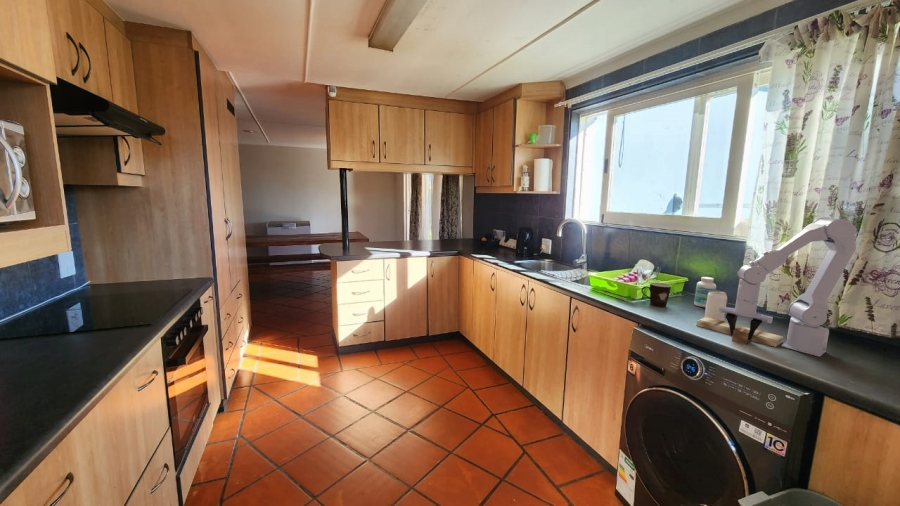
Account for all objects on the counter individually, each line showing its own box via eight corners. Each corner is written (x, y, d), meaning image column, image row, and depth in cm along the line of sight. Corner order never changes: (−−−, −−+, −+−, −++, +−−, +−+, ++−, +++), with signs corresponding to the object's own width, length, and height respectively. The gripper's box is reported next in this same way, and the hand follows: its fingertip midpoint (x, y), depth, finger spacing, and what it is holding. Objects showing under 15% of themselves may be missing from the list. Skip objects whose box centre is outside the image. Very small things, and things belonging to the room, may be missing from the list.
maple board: (782, 342, 127) (783, 336, 127) (775, 347, 123) (776, 340, 122) (705, 321, 146) (705, 316, 146) (696, 325, 142) (697, 320, 142)
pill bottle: (690, 304, 171) (693, 276, 169) (701, 303, 173) (705, 275, 171) (705, 309, 164) (709, 280, 162) (717, 307, 166) (721, 279, 164)
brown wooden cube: (749, 341, 127) (751, 329, 127) (746, 344, 124) (747, 333, 123) (735, 337, 130) (737, 326, 130) (731, 340, 127) (733, 329, 126)
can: (726, 323, 145) (731, 294, 143) (708, 321, 146) (713, 293, 145) (718, 318, 151) (722, 290, 150) (701, 316, 153) (705, 289, 151)
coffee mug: (669, 304, 169) (671, 284, 167) (668, 309, 162) (671, 287, 160) (641, 300, 175) (643, 280, 174) (639, 304, 168) (641, 284, 166)
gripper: (776, 302, 122) (770, 340, 124) (725, 293, 133) (719, 328, 135) (772, 306, 118) (765, 345, 120) (719, 296, 129) (713, 332, 131)
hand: (741, 336), depth 127 cm, fingers open, 4 cm apart
